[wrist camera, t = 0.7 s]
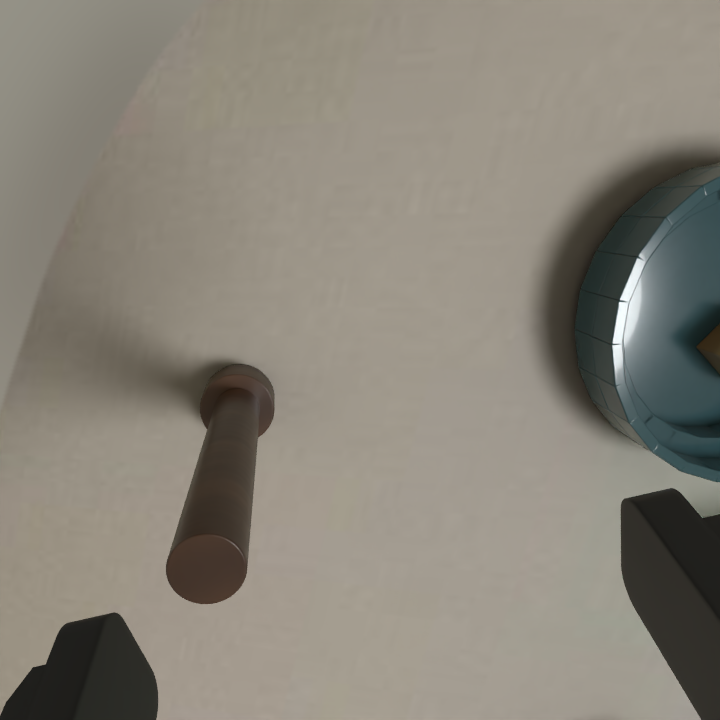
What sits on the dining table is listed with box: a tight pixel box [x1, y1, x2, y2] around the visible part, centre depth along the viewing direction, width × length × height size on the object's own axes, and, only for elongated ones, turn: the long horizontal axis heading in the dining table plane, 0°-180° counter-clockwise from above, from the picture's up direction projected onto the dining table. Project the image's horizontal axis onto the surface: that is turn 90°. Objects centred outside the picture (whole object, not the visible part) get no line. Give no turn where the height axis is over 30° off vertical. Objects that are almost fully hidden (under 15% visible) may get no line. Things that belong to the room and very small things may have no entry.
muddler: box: [166, 364, 274, 604], centre depth 25 cm, size 4×4×16 cm
